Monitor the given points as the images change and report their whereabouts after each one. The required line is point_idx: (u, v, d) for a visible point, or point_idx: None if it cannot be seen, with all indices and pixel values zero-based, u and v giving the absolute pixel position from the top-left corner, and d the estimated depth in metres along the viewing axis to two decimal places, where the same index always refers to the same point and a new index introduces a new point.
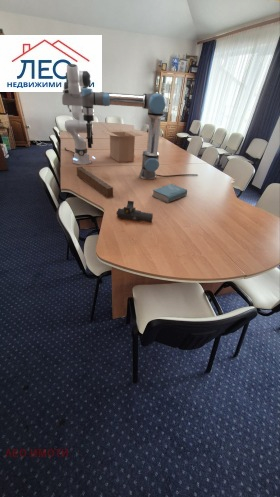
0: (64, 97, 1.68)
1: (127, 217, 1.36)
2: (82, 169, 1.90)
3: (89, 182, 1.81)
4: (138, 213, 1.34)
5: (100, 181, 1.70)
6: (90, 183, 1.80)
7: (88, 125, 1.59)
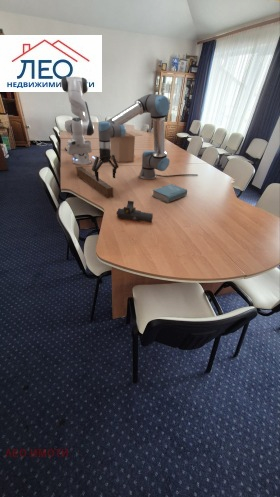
0: (71, 148, 1.76)
1: (127, 217, 1.36)
2: (82, 169, 1.90)
3: (89, 182, 1.81)
4: (138, 213, 1.34)
5: (100, 181, 1.70)
6: (90, 183, 1.80)
7: (96, 158, 1.49)
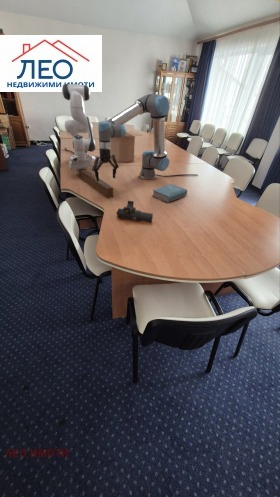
0: (72, 164, 1.83)
1: (127, 217, 1.36)
2: (82, 169, 1.90)
3: (89, 182, 1.81)
4: (138, 213, 1.34)
5: (100, 181, 1.70)
6: (90, 183, 1.80)
7: (96, 158, 1.49)
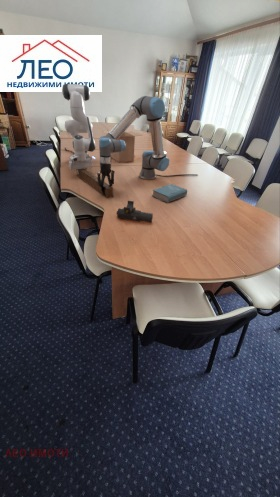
0: (72, 164, 1.83)
1: (127, 217, 1.36)
2: (82, 169, 1.90)
3: (89, 182, 1.81)
4: (138, 213, 1.34)
5: None
6: (90, 183, 1.80)
7: (97, 175, 1.55)
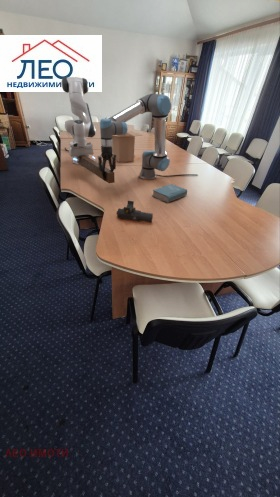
0: (72, 150, 1.77)
1: (127, 217, 1.36)
2: (82, 156, 1.84)
3: (90, 168, 1.75)
4: (138, 213, 1.34)
5: None
6: (90, 169, 1.74)
7: (98, 158, 1.49)
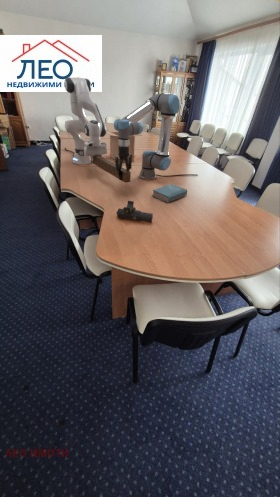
0: (87, 149, 1.81)
1: (127, 217, 1.36)
2: (97, 155, 1.87)
3: (104, 168, 1.79)
4: (138, 213, 1.34)
5: None
6: (105, 168, 1.78)
7: (116, 158, 1.53)
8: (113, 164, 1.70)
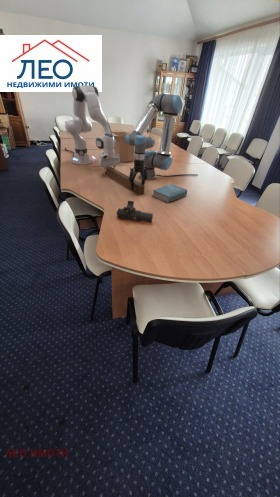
0: (102, 161, 1.89)
1: (127, 217, 1.36)
2: (110, 168, 1.97)
3: (118, 180, 1.88)
4: (138, 213, 1.34)
5: None
6: (119, 181, 1.87)
7: (131, 170, 1.61)
8: (127, 177, 1.80)
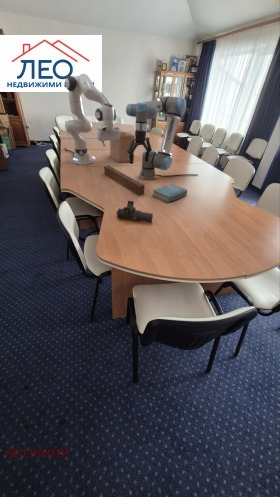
0: (101, 134, 1.77)
1: (127, 217, 1.36)
2: (110, 168, 1.97)
3: (118, 180, 1.88)
4: (138, 213, 1.34)
5: (131, 179, 1.77)
6: (119, 181, 1.87)
7: (132, 140, 1.49)
8: (127, 177, 1.80)
